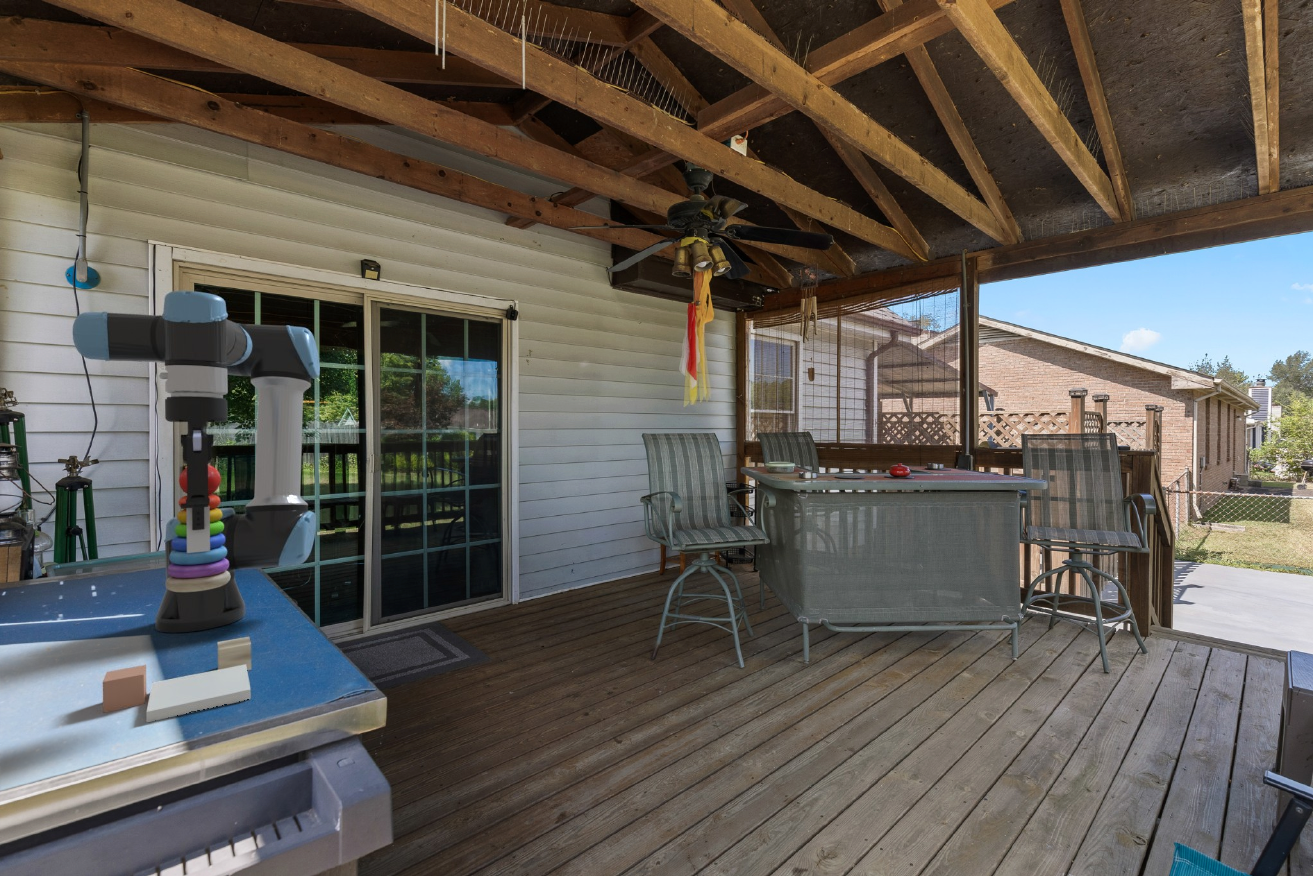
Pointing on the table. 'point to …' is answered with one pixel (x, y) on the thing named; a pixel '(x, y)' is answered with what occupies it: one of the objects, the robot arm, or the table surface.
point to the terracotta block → (124, 688)
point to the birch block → (234, 653)
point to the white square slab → (198, 692)
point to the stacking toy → (199, 566)
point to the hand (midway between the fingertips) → (198, 547)
